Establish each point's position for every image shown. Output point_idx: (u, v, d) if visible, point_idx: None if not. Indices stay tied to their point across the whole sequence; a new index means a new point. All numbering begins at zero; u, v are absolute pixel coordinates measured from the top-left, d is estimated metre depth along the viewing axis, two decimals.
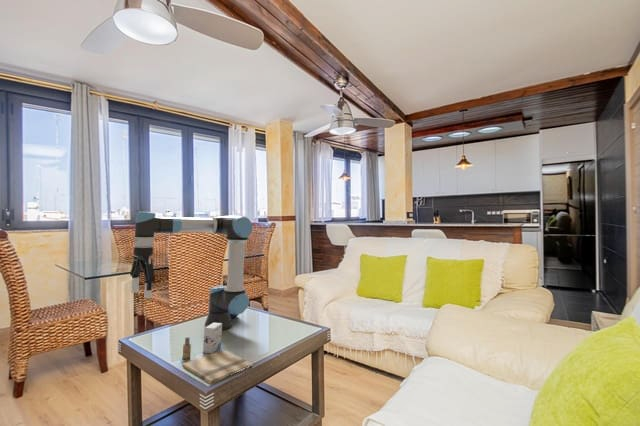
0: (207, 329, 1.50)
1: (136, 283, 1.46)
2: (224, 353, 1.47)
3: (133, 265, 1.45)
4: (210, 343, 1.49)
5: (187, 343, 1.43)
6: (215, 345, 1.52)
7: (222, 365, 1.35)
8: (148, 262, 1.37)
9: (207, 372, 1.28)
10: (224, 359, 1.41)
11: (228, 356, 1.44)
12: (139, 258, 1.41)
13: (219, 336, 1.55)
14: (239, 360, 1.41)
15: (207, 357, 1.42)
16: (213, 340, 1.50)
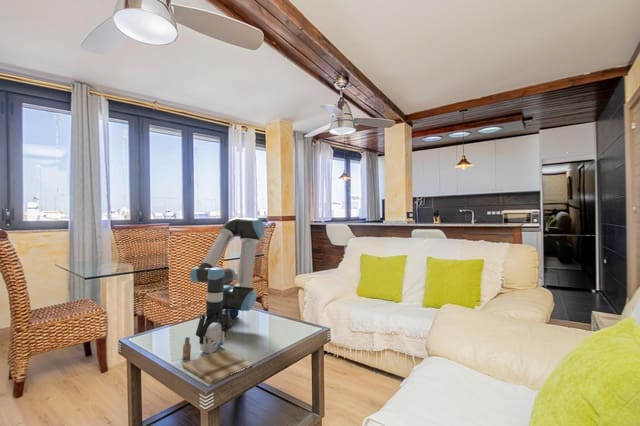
0: (207, 329, 1.50)
1: (221, 336, 1.57)
2: (224, 353, 1.47)
3: (223, 317, 1.59)
4: (210, 343, 1.49)
5: (187, 343, 1.43)
6: (215, 345, 1.52)
7: (222, 365, 1.35)
8: (200, 317, 1.49)
9: (207, 372, 1.28)
10: (224, 359, 1.41)
11: (228, 356, 1.44)
12: None
13: (219, 336, 1.55)
14: (239, 360, 1.41)
15: (207, 357, 1.42)
16: (213, 340, 1.50)
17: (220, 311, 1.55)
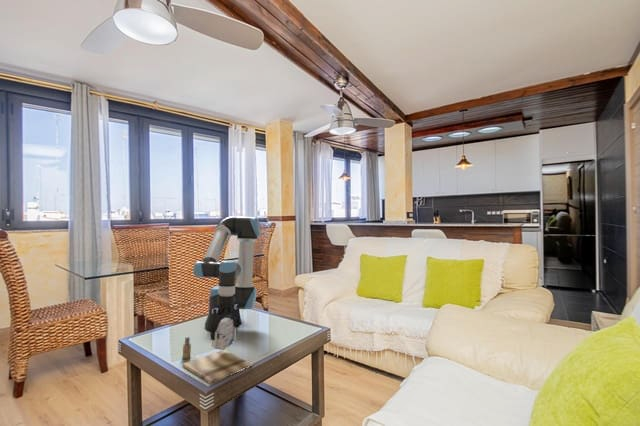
0: (219, 324, 1.44)
1: (233, 332, 1.51)
2: (224, 353, 1.47)
3: (235, 313, 1.53)
4: (222, 338, 1.43)
5: (187, 343, 1.43)
6: (227, 341, 1.46)
7: (222, 365, 1.35)
8: (211, 312, 1.43)
9: (207, 372, 1.28)
10: (224, 359, 1.41)
11: (228, 356, 1.44)
12: None
13: (231, 332, 1.49)
14: (239, 360, 1.41)
15: (207, 357, 1.42)
16: (225, 335, 1.43)
17: (232, 306, 1.49)
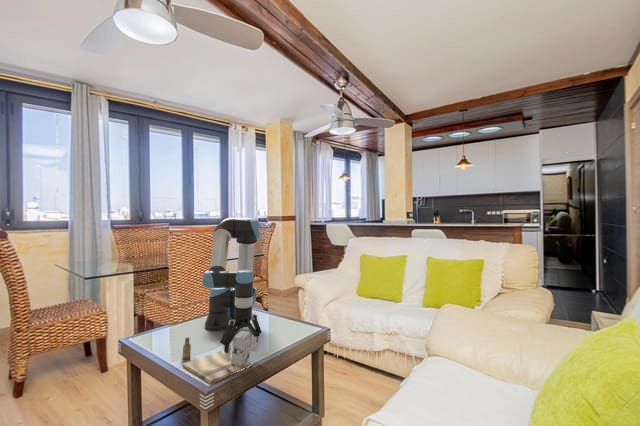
0: (236, 339, 1.36)
1: (253, 342, 1.45)
2: (224, 353, 1.47)
3: (253, 322, 1.46)
4: (239, 354, 1.35)
5: (187, 343, 1.43)
6: (245, 356, 1.38)
7: (222, 365, 1.35)
8: (228, 323, 1.35)
9: (207, 372, 1.28)
10: (224, 359, 1.41)
11: None
12: None
13: (248, 346, 1.41)
14: None
15: (207, 357, 1.42)
16: (242, 350, 1.36)
17: (249, 318, 1.42)
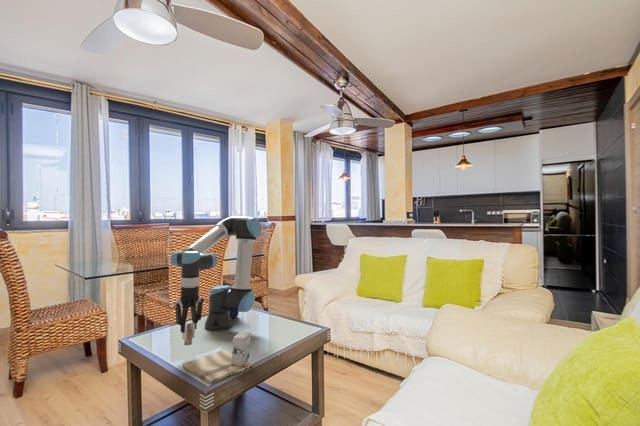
0: (236, 339, 1.36)
1: (192, 328, 1.45)
2: (224, 353, 1.47)
3: (197, 306, 1.49)
4: (239, 354, 1.35)
5: (189, 329, 1.44)
6: (245, 356, 1.38)
7: (222, 365, 1.35)
8: (175, 306, 1.40)
9: (207, 372, 1.28)
10: (224, 359, 1.41)
11: (228, 356, 1.44)
12: None
13: (248, 346, 1.41)
14: None
15: (207, 357, 1.42)
16: (242, 350, 1.36)
17: (196, 297, 1.46)
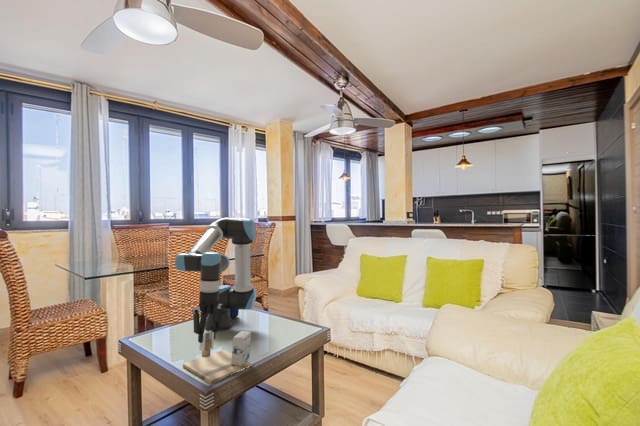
0: (236, 339, 1.36)
1: (210, 338, 1.31)
2: (224, 353, 1.47)
3: None
4: (239, 354, 1.35)
5: (207, 339, 1.29)
6: (245, 356, 1.38)
7: (222, 365, 1.35)
8: (193, 313, 1.26)
9: (207, 372, 1.28)
10: (224, 359, 1.41)
11: (228, 356, 1.44)
12: None
13: (248, 346, 1.41)
14: None
15: (207, 357, 1.42)
16: (242, 350, 1.36)
17: (216, 303, 1.32)
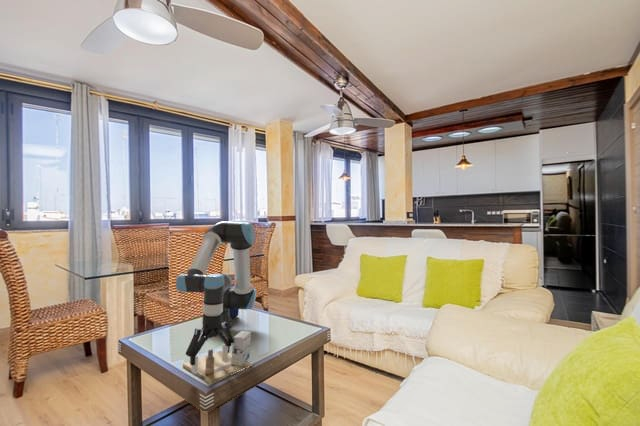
0: (236, 339, 1.36)
1: (224, 352, 1.33)
2: None
3: None
4: (239, 354, 1.35)
5: (210, 356, 1.27)
6: (245, 356, 1.38)
7: (222, 365, 1.35)
8: (195, 332, 1.24)
9: None
10: None
11: (228, 356, 1.44)
12: None
13: (248, 346, 1.41)
14: None
15: None
16: (242, 350, 1.36)
17: (219, 326, 1.30)
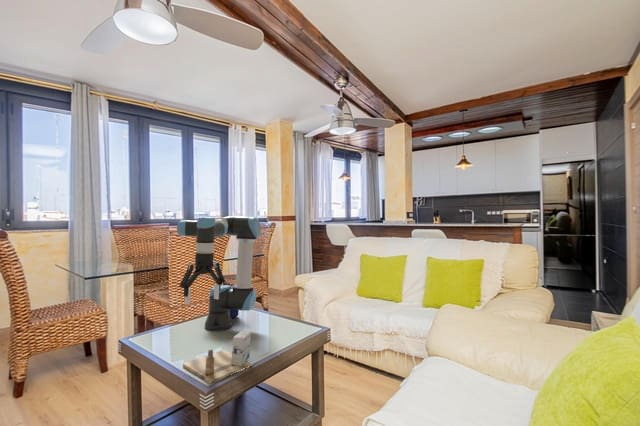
0: (236, 339, 1.36)
1: (216, 290, 1.44)
2: (224, 353, 1.47)
3: (216, 271, 1.46)
4: (239, 354, 1.35)
5: (210, 356, 1.27)
6: (245, 356, 1.38)
7: (222, 365, 1.35)
8: (188, 267, 1.35)
9: None
10: (224, 359, 1.41)
11: (228, 356, 1.44)
12: None
13: (248, 346, 1.41)
14: None
15: None
16: (242, 350, 1.36)
17: (211, 265, 1.41)
